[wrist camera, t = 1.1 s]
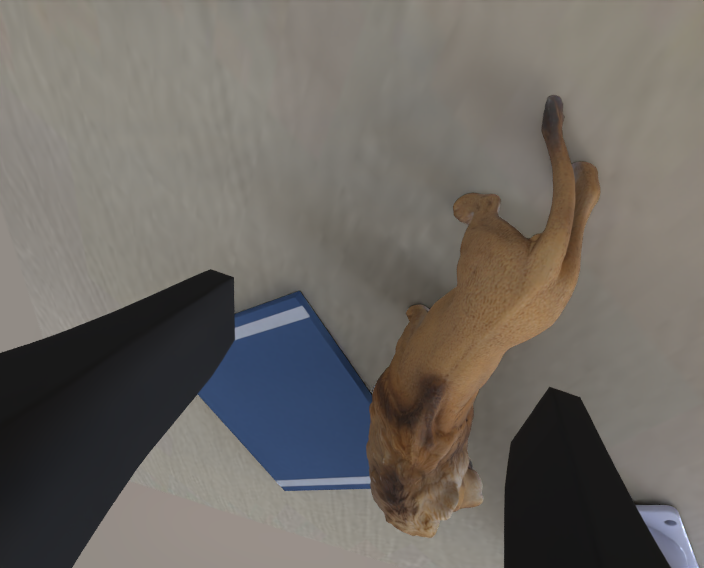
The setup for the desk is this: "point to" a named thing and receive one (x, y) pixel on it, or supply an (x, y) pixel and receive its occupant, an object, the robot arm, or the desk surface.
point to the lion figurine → (472, 343)
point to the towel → (293, 398)
